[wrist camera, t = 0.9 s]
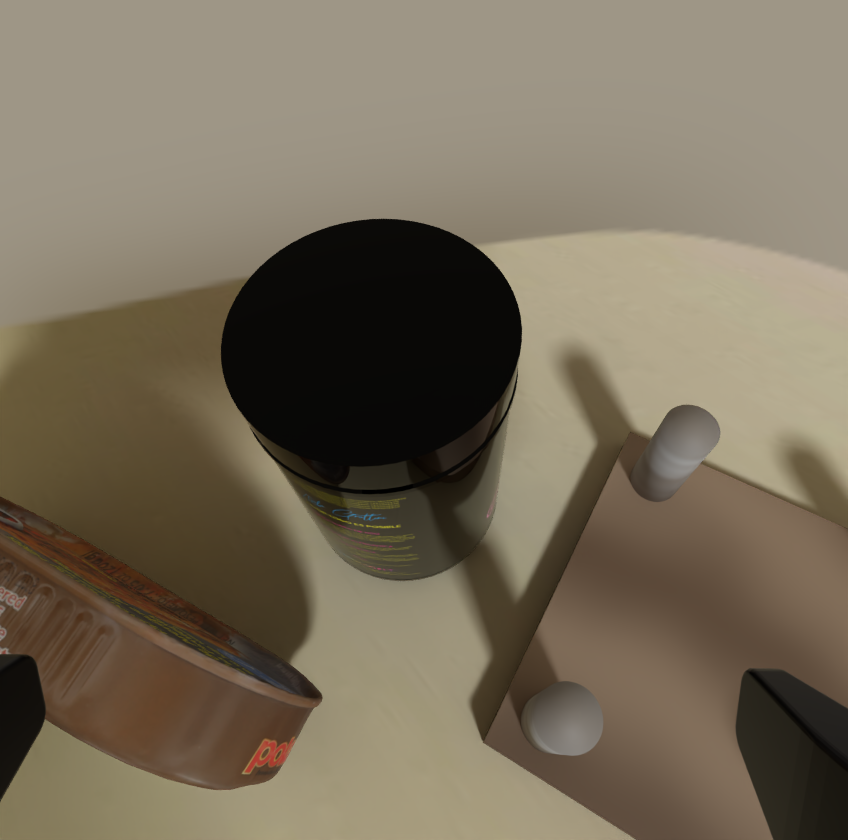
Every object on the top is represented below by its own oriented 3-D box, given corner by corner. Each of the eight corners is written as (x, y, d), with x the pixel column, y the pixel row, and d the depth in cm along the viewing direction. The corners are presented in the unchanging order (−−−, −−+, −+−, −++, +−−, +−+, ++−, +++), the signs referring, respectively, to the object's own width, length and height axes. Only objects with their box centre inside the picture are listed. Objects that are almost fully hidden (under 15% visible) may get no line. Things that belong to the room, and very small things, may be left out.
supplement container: (504, 585, 21) (537, 462, 12) (309, 590, 21) (195, 473, 12) (492, 413, 24) (511, 211, 15) (322, 419, 25) (240, 224, 15)
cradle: (885, 997, 16) (1052, 1097, 11) (482, 742, 19) (489, 741, 14) (960, 596, 20) (1101, 554, 16) (623, 443, 23) (662, 373, 19)
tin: (350, 698, 20) (283, 671, 12) (296, 800, 18) (186, 837, 11) (18, 500, 24) (-186, 387, 16) (-45, 572, 22) (-296, 487, 15)
